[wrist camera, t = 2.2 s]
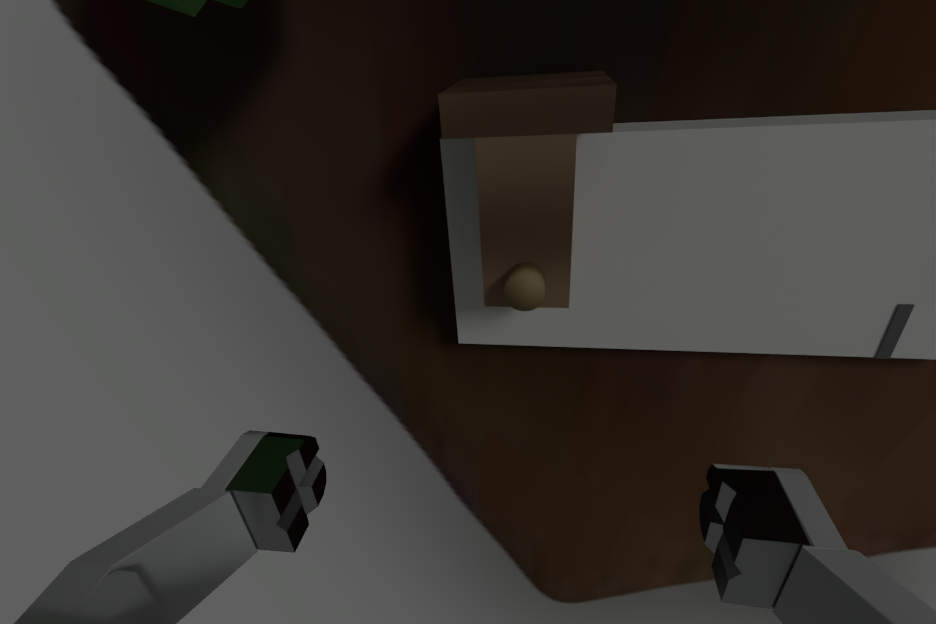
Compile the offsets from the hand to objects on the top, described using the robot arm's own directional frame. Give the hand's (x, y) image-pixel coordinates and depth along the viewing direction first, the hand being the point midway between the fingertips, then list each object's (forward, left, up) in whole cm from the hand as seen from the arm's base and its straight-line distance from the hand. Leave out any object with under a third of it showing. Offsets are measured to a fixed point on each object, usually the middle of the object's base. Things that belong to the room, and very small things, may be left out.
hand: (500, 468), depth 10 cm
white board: (+2, +9, -17) cm, 19 cm away
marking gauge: (-2, 0, -16) cm, 17 cm away
